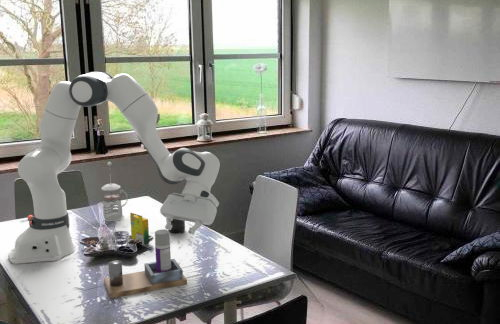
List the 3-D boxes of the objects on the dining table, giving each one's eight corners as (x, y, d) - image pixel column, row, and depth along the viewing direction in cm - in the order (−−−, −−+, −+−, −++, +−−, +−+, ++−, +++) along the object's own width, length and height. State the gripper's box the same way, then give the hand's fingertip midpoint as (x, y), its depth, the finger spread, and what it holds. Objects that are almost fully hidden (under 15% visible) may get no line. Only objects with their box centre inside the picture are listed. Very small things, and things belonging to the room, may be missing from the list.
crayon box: (149, 243, 204) (148, 214, 201) (143, 245, 202) (142, 216, 199) (137, 239, 209) (135, 210, 206) (131, 241, 206) (129, 212, 204)
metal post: (111, 287, 164) (109, 266, 163) (109, 282, 168) (107, 261, 166) (124, 285, 166) (122, 264, 164) (121, 280, 169) (120, 259, 168)
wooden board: (110, 298, 161) (109, 284, 160) (104, 282, 171) (103, 269, 170) (186, 283, 170) (186, 270, 169) (176, 269, 181) (176, 257, 180)
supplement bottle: (188, 232, 216) (187, 203, 213) (172, 235, 212) (171, 206, 209) (180, 227, 221) (179, 199, 219) (165, 230, 218) (164, 202, 215)
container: (155, 274, 174) (153, 230, 170) (169, 271, 175) (167, 228, 172) (158, 279, 169) (156, 235, 166) (173, 277, 171) (171, 233, 168)
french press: (103, 214, 238) (99, 159, 233) (129, 213, 240) (126, 159, 234) (99, 221, 229) (95, 165, 223) (127, 220, 230) (123, 164, 224)
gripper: (166, 187, 186) (149, 222, 180) (215, 194, 177) (200, 231, 171) (174, 196, 191) (158, 230, 185) (223, 204, 181) (208, 240, 175)
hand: (179, 231), depth 178 cm, fingers open, 8 cm apart
